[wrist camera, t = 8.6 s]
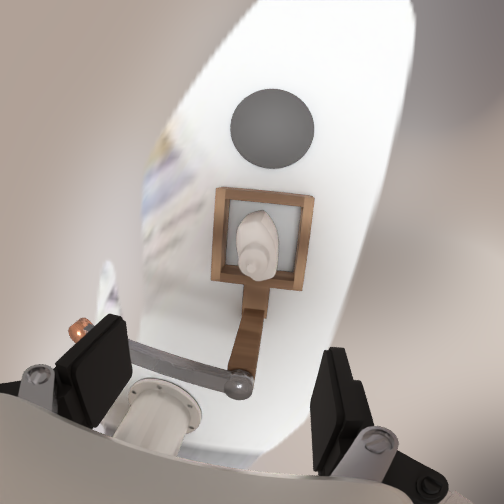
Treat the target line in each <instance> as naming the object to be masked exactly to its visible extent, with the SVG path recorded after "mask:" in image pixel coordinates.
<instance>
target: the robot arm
mask: <svg viewBox="0 0 504 504" xmlns="http://www.w3.org/2000/svg"><path fill="white" fill-rule="evenodd" d="M55 365H56V367H55V368H54V369H52V368H51V367H50V366H48V365H44V364H38V365H34V366H31V367H29V368H27V369H26V370H25V371H24V373H23V376H22V379H21V381H15V382H9V383H2V384H0V504H474V503H472V502H471V501H469V500H468V499H466V498H465V497H464V496H462V495H461V494H459V493H458V492H456V491H454V492H453V493H452V492H450V491H449V490H448V482H447V480H446V478H445V477H444V476H443V475H442V474H440V473H438V472H437V471H435V470H433V469H431V468H429V467H427V466H425V465H423V464H421V463H420V462H418V461H416V460H414V459H412V458H410V457H409V456H407V455H405V454H403V453H401V452H400V451H398V450H397V449H398V445H399V442H398V438H397V437H396V435H395V434H394V433H393V432H392V431H391V430H389V429H387V428H384V427H381V426H374V423H373V419H372V416H371V412H370V409H369V405H368V402H367V398H366V395H365V391H364V388H363V385H362V382H361V381H359V380H353V377H352V373H351V369H350V366H349V363H348V359H347V356H346V352H345V349H344V348H339V347H338V348H337V347H330V348H329V350H324V352H323V356H322V360H321V364H320V368H319V372H318V376H317V379H316V383H315V387H314V390H313V394H312V397H311V402H310V414H311V431H312V450H313V470H314V471H315V472H316V471H318V476H313V475H293V474H280V473H269V472H260V471H251V470H243V469H236V468H230V467H224V466H218V465H212V464H207V463H202V462H197V461H193V460H188V459H184V458H180V457H177V455H178V453H179V450H180V447H181V445H182V442H183V439H184V437H185V434H188V433H191V432H193V431H194V430H196V429H197V428H198V426H199V424H200V421H201V411H200V408H199V406H198V404H197V403H196V401H195V400H194V399H193V398H192V397H191V396H190V395H189V394H188V393H187V392H185V391H184V390H183V389H181V388H179V387H178V386H176V385H174V384H171V383H169V382H166V381H163V380H159V379H143V380H140V381H138V382H136V383H135V384H134V385H133V386H132V387H131V389H130V391H129V394H128V400H129V404H130V406H131V407H130V409H129V411H128V412H127V414H126V415H125V417H124V419H123V420H122V422H121V424H120V425H119V427H118V429H117V430H116V432H115V434H114V435H113V437H110V436H107V435H105V434H102V433H99V432H97V431H94V430H92V429H93V427H94V428H96V427H97V426H98V425H99V424H100V422H101V421H102V419H103V418H104V416H105V415H106V413H107V412H108V410H109V409H110V407H111V406H112V404H113V403H114V402H115V400H116V399H117V397H118V396H119V394H120V393H121V391H122V390H123V388H124V387H125V386H126V384H127V383H128V381H129V380H130V378H131V376H132V364H131V357H130V351H129V343H128V336H127V327H126V322H125V321H124V320H123V319H122V317H121V316H117V315H113V314H108V315H107V316H105V317H104V318H103V319H102V320H101V321H100V322H99V323H98V324H97V325H95V326H94V327H93V328H92V329H91V330H90V331H89V332H88V333H87V334H86V335H84V336H83V337H82V338H81V339H80V340H79V341H78V342H77V343H76V344H75V345H74V346H73V347H72V348H70V349H69V350H68V351H67V352H66V353H65V354H64V355H63V356H62V357H61V358H60V359H59V360H58V361H57V362H56V363H55Z"/></svg>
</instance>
